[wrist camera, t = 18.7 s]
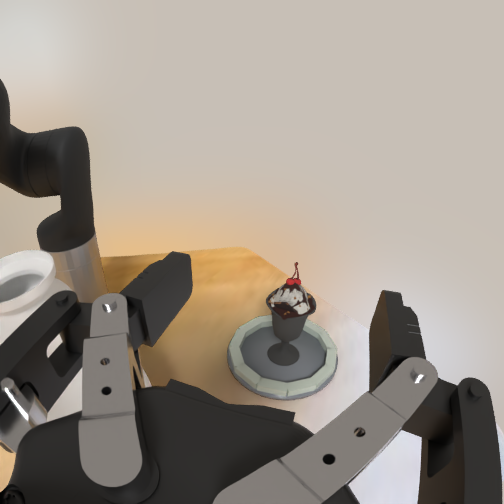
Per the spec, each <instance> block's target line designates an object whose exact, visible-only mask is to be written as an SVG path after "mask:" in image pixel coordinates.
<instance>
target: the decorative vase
mask: <svg viewBox="0 0 504 504" xmlns="http://www.w3.org/2000/svg"><path fill="white" fill-rule="evenodd" d="M55 275H56V268H55V264H54V261H53V258H52V256H51V255H50V254H49V253H47V252H44V251H41V250H25V251H20V252H16V253H13V254H10V255H7V256H5V257H3V258H1V259H0V345H1V344H2V343H3V342H4V341H5V340H6V339H7V338H8V337H9V336H10V335H11V334H12V333H13V332H14V331H15V330H16V329H17V328H18V327H19V326H20V325H21V324H22V323H23V322H24V321H25V320H26V319H27V318H28V317H29V316H30V315H31V314H32V313H33V312H34V311H36V310H37V309H38V308H39V307H40V306H41V305H42V304H43V303H44V302H45V301H46V300H47V299H49V298H50V297H51V296H52V295H53V294H55V293H57V292H59V291H63V290H71V289H70V287H69V286H67V285H66V284H65V283H64V282H62V281H60V280H58V279H56V278H55ZM71 291H72V290H71ZM61 343H62V339H61V337H60V335H59V334H58V336H57V337H56V338H55V339H54V340H53V341H52V342H51V343H50V344H49V346H48V348H47V356H48V358H49V356H50V355H51V354H52V353H53V352H54V351H55V350H56V348H57V347H58V346H59V345H60V344H61ZM142 370H143V377H144V383H145V387H152V386H151V383H150V381H149V379H148V377H147V375H146V373H145V371H144V369H143V368H142ZM81 410H82V368H81V369H80V371H79V372H78V373H77V375H76V376H75V377H74V378H73V380H72V381H71V382H70V384H69V385H68V386H67V388H66V389H65V390H64V392H63V393H62V394H61V396H60V397H59V398H58V400H57V401H56V402H55V404H54V405H53V407H52V408H51V409H50V411H49V412H48V413H47V421H46V422H49V421H52V420H55V419H58V418H61V417H64V416H67V415H70V414H73V413H76V412H78V411H81Z"/></svg>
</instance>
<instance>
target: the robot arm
mask: <svg viewBox="0 0 504 504" xmlns="http://www.w3.org/2000/svg"><path fill="white" fill-rule="evenodd" d="M9 105H10V104H9V98H8V94H7V90H6V88H5V86H4V84H3V82H2V81H1V79H0V183H2V184H4V185H6V186H8V187H9V188H11V189H13V190H15V191H17V192H18V193H21V194H23V195H25V196H28V197H34V198H40V197H48V196H57V195H60V198H61V210H60V211H58V212H56V213H54V214H52V215H51V216H49V217H47V218H46V219H45V220H43V221H42V222H41V223H40V224H39V226H38V228H37V238H38V242H39V245H40V249H41V251H44V252H47V253H49V254H50V255H51V256H52V258H53V261H54V264H55V268H56V275H55V278H56V279H58V280H60V281H62V282H64V283H65V284H66V285H67V286H69V287H70V289H71V290H72V291H71V290H63V291H59V292H57V293H55V294H53V295H52V296H51V297H50V298H49V299H47V300H46V301H45V302H44V303H43V304H42V305H41V306H40V307H39V308H38V309H37V310H36V311H34V312H33V313H32V314H31V315H30V316H29V317H28V318H27V319H26V320H25V321H24V322H23V323H22V324H21V325H20V326H19V327H18V328H17V329H16V330H15V331H14V332H13V333H12V334H11V335H10V336H9V337H8V338H7V339H6V340H5V341H4V342H3V343H2V344H1V345H0V446H2V447H3V448H4V449H5V450H6V451H8V452H11V453H15V454H16V459H15V465H14V469H13V473H12V476H11V479H10V481H9V483H8V485H7V487H6V488H5V489H4V490H3V491H2V492H0V504H360V503H359V502H358V500H357V498H356V497H355V495H354V494H353V492H352V491H351V489H350V487H349V486H348V485H349V484H350V483H351V482H352V481H353V480H354V479H355V478H356V477H357V476H359V475H360V474H361V473H362V472H363V471H364V470H365V469H366V468H367V467H368V466H369V465H370V464H371V463H372V462H373V461H374V459H375V458H376V457H377V456H378V455H379V454H380V453H381V452H382V451H383V450H384V449H385V448H386V447H387V446H388V445H389V444H390V443H391V441H392V440H393V439H394V438H395V437H396V436H397V435H398V434H399V432H400V431H401V430H404V431H406V432H409V433H411V434H414V435H417V436H420V437H422V449H421V470H420V484H419V494H418V504H502V475H501V462H500V452H499V443H498V435H497V429H496V422H495V416H494V411H493V406H492V401H491V396H490V392H489V390H488V388H487V386H486V385H485V384H484V383H483V382H481V381H480V380H478V379H475V378H465V379H463V380H462V381H461V382H460V383H459V385H458V386H457V385H455V384H452V383H449V382H447V381H444V380H442V379H440V378H438V373H437V370H436V369H435V367H434V366H433V365H432V364H431V363H430V362H429V361H427V360H426V356H425V351H424V346H423V342H422V336H421V335H420V333H421V332H420V328H419V323H418V318H417V316H416V314H415V313H414V311H412V309H411V308H410V307H406V306H403V301H402V296H401V293H398V292H392V291H386V290H383V291H382V292H381V295H380V298H379V301H378V304H377V307H376V310H375V313H374V316H373V318H372V322H371V326H370V332H369V351H370V378H369V391H367V392H366V393H364V394H363V395H362V396H361V397H360V398H359V399H357V400H356V401H355V402H354V403H353V404H352V405H351V406H349V407H348V408H347V409H346V410H345V411H343V412H342V413H341V414H340V415H339V416H337V417H336V418H335V419H334V420H333V421H331V422H330V423H329V424H328V425H326V426H325V427H324V428H322V429H321V430H320V431H319V432H317V433H316V434H315V435H314V434H313V433H312V432H311V431H309V430H308V429H307V428H305V427H303V426H302V425H300V424H298V423H296V422H293V420H294V416H295V412H290V411H285V410H280V409H276V408H271V407H267V406H260V405H235V404H227V403H225V402H223V401H221V400H219V399H217V398H215V397H214V396H212V395H210V394H208V393H207V392H205V391H203V390H201V389H200V388H197V387H194V386H191V385H188V384H185V383H182V382H179V381H176V380H173V379H170V381H169V383H168V384H167V386H166V387H164V386H153V387H145V383H144V377H143V370H142V364H141V357H140V351H139V347H140V345H141V344H145V345H148V346H150V347H153V345H154V344H155V343H156V341H157V340H158V339H159V337H160V336H161V335H162V333H163V332H164V331H165V329H166V328H167V327H168V325H169V324H170V323H171V321H172V320H173V319H174V318H175V316H176V315H177V314H178V312H179V311H180V310H181V308H182V307H183V306H184V304H185V303H186V302H187V301H188V299H189V298H190V296H191V293H192V286H193V284H192V270H191V258H190V255H189V254H184V253H179V252H174V251H172V252H171V253H169V254H168V255H167V256H166V257H165V258H164V259H163V260H159V261H157V262H155V263H153V264H151V265H149V266H148V267H147V268H146V269H145V270H144V271H143V273H142V272H141V273H140V274H139V275H138V276H137V278H135V279H134V280H133V281H132V282H131V283H130V284H129V285H128V286H126V287H125V288H124V289H123V290H122V291H121V292H120V293H119V294H118V293H108V289H107V285H106V281H105V277H104V272H103V268H102V263H101V258H100V254H99V249H98V244H97V238H96V233H95V227H94V217H93V201H92V192H91V180H90V179H91V178H90V157H89V148H88V142H87V138H86V136H85V134H84V132H83V131H82V129H80V128H79V127H65V128H60V129H54V130H49V131H44V132H39V133H26V132H23V131H21V130H19V129H17V128H16V127H15V126H13V125H11V124H10V106H9ZM58 334H59V335H60V337H61V339H62V343H61V344H60V345H59V346H58V347H57V348H56V350H55V351H54V352H53V353H52V354H51V355H50V356H49V358H48V356H47V348H48V346H49V344H50V343H51V342H52V341H53V340H54V339H55V338H56V337H57V336H58ZM81 368H82V410H81V411H78V412H76V413H73V414H70V415H67V416H64V417H61V418H58V419H55V420H52V421H49V422H46V421H47V413H48V412H49V411H50V409H51V408H52V407H53V405H54V404H55V402H56V401H57V400H58V398H59V397H60V396H61V394H62V393H63V392H64V390H65V389H66V388H67V386H68V385H69V384H70V382H71V381H72V380H73V378H74V377H75V376H76V375H77V373H78V372H79V371H80V369H81Z"/></svg>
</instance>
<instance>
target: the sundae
mask: <svg viewBox="0 0 504 504" xmlns="http://www.w3.org/2000/svg"><path fill="white" fill-rule="evenodd" d="M297 265H298V263H297V262H296V263H295V268H297ZM295 274H296V272H295V273H294V275H295ZM294 275H293V277H294ZM293 277H292V278H288V279H287V281H286V284H284V285H282V286H281V287H280V288H278V289H276V290H275V291H273V292H272V293H271V294H270V295H269V296H268V297H267V299H266V303H267V305H268V307H269V308H270V309H271V312H272V326H273V331H274V334H275V336H276V337H277V338H279V339H280V340H282V341H281V343H276V344H274V345H272V346H271V347H269V349H268V351H267V355H268V358H269V359H270V361H272V362H273V363H275V364H277V365H281V366H289V365H292V364H294V363H296V362H297V361H298V359H299V356H300V355H299V351H298V349H297V348H296V347H295V346H293V345H292V344H289V342H290V341H293V340H295V339H297V338H298V337H299V336H300V334H301V332H302V330H303V328H304V325H305V322H306V319H307V317H308V315H311V314H313V313H314V312H315V310H316V302H315V299H314V298H313V297H312V296H311V295H310V294H308V293H306V291H305V289H304V288H303V287H302V286H301V285H300V284H301V280H300V279H299V274H298V268H297V278H294V279H293Z"/></svg>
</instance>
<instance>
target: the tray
mask: <svg viewBox="0 0 504 504" xmlns="http://www.w3.org/2000/svg"><path fill="white" fill-rule="evenodd" d="M281 341H282V340H280V339H279V338H277V337H276V336H275V334H274V331H273V326H272V315H267V316H259V317H258V318H257V317H256V318H254V319H252V320H251V321H249V322H247V323H246V324H244V325H242V326H240V327H239V328H238V329H237V331H236V333H235V335H234V337H233V338H232V340H231V341H230V344H229V346H228V351H227V359H228V365H229V368H230V370H231V372H232V374H233V375H234V377H235V378H236V379H237V380H238V381H239V382H240V383H241V384H242V385H243V386H244V387H246V388H247V389H248V390H250V391H252V392H254V393H256V394H258V395H261V396H263V397H267V398H271V399H277V400H295V399H301V398H305V397H308V396H311V395H313V394H315V393H317V392H319V391H320V390H322V389H323V388H324V387H326V386H327V385H328V383H329V382H330V381H331V380H332V378H333V376H334V374H335V372H336V369H337V364H338V357H337V347H336V345H335V344H334V342H333V341H332V339H331V337H330V336H329V334H328V333H327V331H325V329H323V328H321V327H320V326H318V325H316V324H315V323H313V322H311V321H310V320H308V319H306V322H305V325H304V328H303V330H302V332H301V334H300V336H299V337H298V338H297V339H295V340H293V341H290V342H289V344H292V345H293V346H295V347H296V348H297V349H298V351H299V355H300V356H299V359H298V361H297V362H296V363H294V364H292V365H289V366H281V365H277V364H275V363H273V362H272V361H270V359H269V358H268V355H267V351H268V349H269V347H271V346H272V345H274V344H276V343H281Z"/></svg>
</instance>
